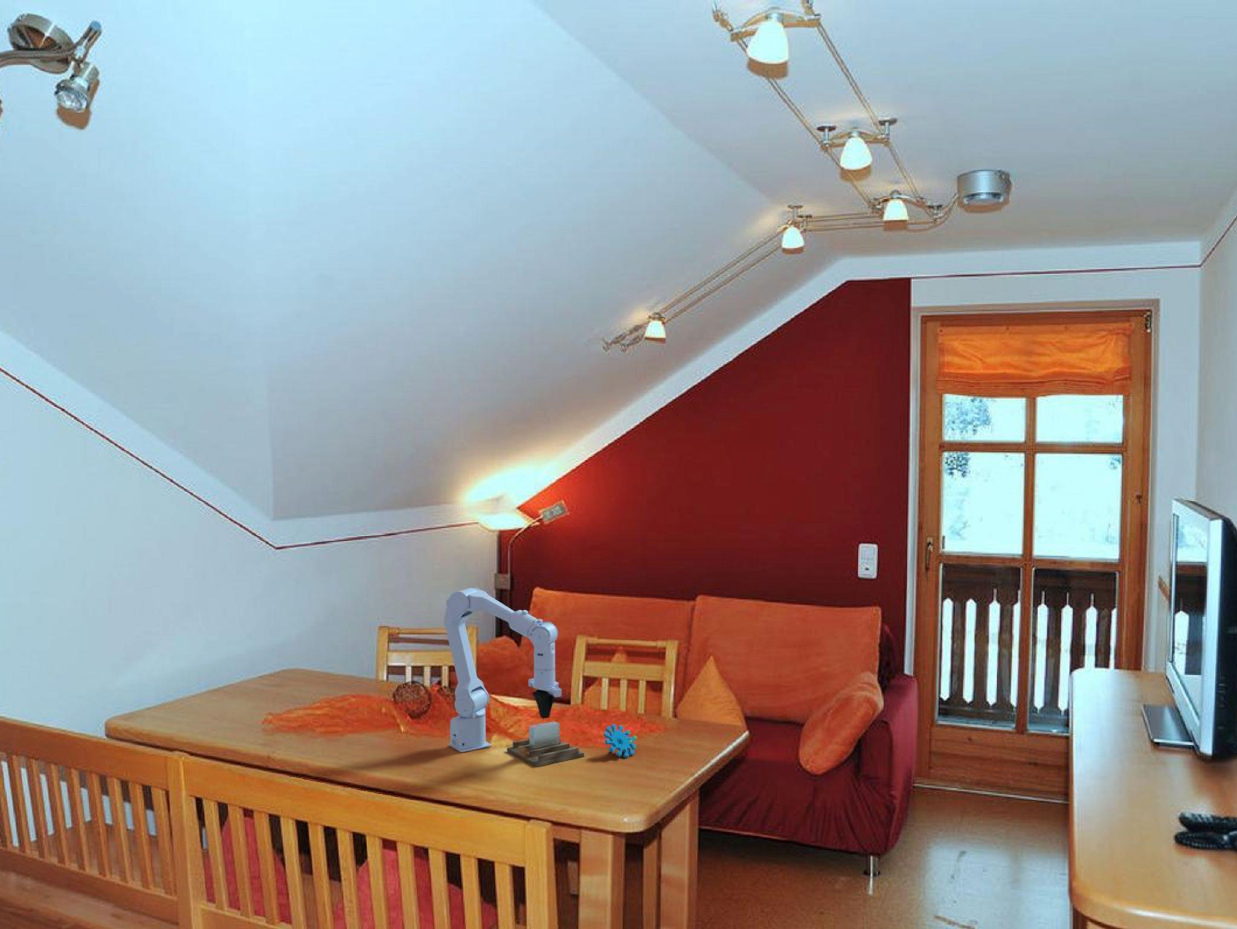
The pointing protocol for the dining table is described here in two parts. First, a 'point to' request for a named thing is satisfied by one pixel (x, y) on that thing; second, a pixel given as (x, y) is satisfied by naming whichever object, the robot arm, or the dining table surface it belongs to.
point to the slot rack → (544, 753)
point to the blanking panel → (543, 735)
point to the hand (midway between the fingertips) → (544, 717)
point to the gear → (619, 741)
